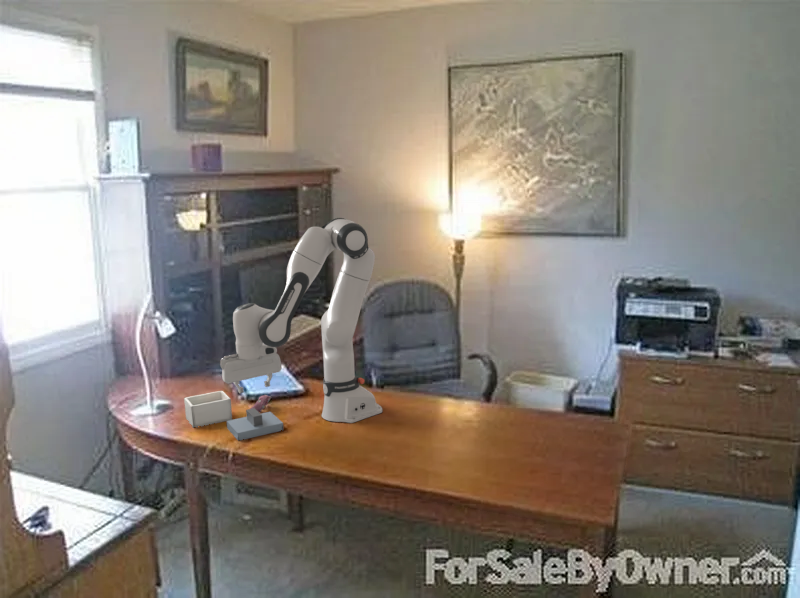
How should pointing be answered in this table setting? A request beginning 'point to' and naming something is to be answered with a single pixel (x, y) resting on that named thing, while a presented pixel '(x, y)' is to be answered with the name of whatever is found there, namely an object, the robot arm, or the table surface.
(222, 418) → the storage box
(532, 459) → the table surface
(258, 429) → the lid
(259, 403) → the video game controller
